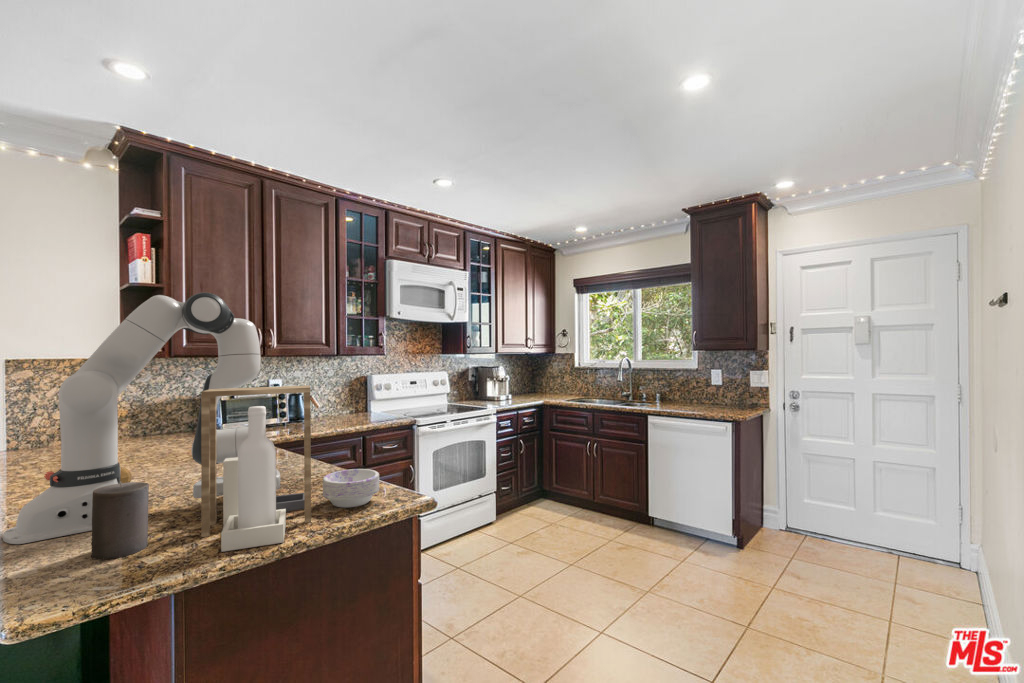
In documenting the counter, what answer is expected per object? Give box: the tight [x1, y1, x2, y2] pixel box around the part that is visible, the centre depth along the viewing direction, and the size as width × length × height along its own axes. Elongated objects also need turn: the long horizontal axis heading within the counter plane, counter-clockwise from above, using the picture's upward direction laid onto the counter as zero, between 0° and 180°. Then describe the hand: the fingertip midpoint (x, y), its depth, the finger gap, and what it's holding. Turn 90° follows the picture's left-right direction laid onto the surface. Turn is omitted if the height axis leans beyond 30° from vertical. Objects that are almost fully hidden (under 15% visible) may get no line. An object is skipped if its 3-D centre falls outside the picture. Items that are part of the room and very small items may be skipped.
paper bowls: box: [322, 468, 380, 509], centre depth 136 cm, size 15×15×8 cm
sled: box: [220, 457, 287, 553], centre depth 115 cm, size 22×14×16 cm, turn 23°
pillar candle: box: [90, 481, 150, 561], centre depth 105 cm, size 10×10×15 cm
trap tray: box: [276, 492, 305, 512], centre depth 132 cm, size 8×14×2 cm, turn 113°
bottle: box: [238, 405, 277, 529], centre depth 112 cm, size 8×8×30 cm
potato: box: [119, 466, 133, 484], centre depth 153 cm, size 10×14×8 cm
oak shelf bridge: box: [200, 384, 312, 538], centre depth 121 cm, size 10×24×34 cm, turn 113°
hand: (235, 492), depth 122 cm, fingers closed, pressing on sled
